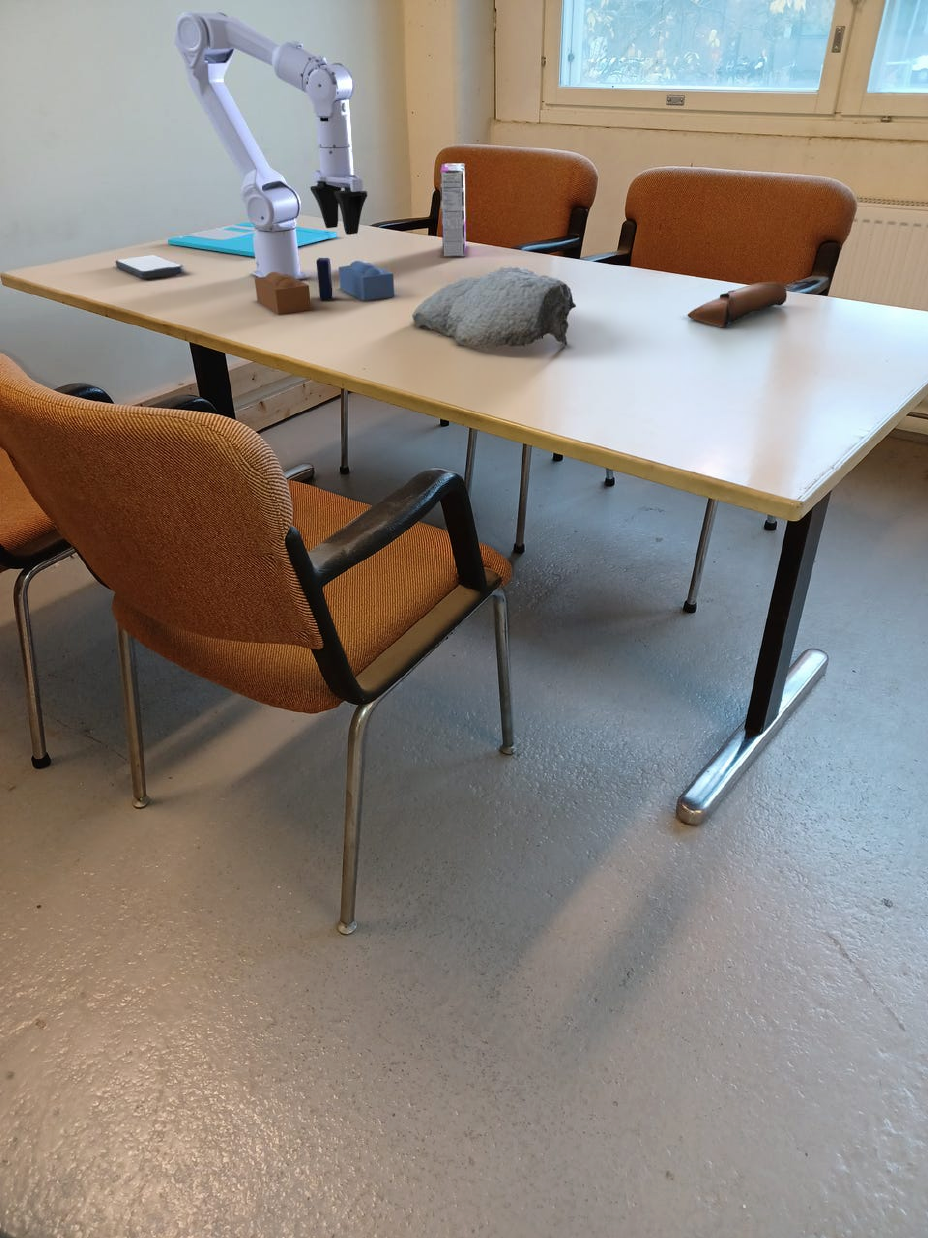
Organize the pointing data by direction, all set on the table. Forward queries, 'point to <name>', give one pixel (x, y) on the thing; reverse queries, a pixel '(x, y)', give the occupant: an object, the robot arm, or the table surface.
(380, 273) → the blue rectangular block
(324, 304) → the table surface
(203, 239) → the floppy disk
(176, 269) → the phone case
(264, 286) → the brown lumpy block
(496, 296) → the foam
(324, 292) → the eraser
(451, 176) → the candy bar box
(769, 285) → the sunglasses case
